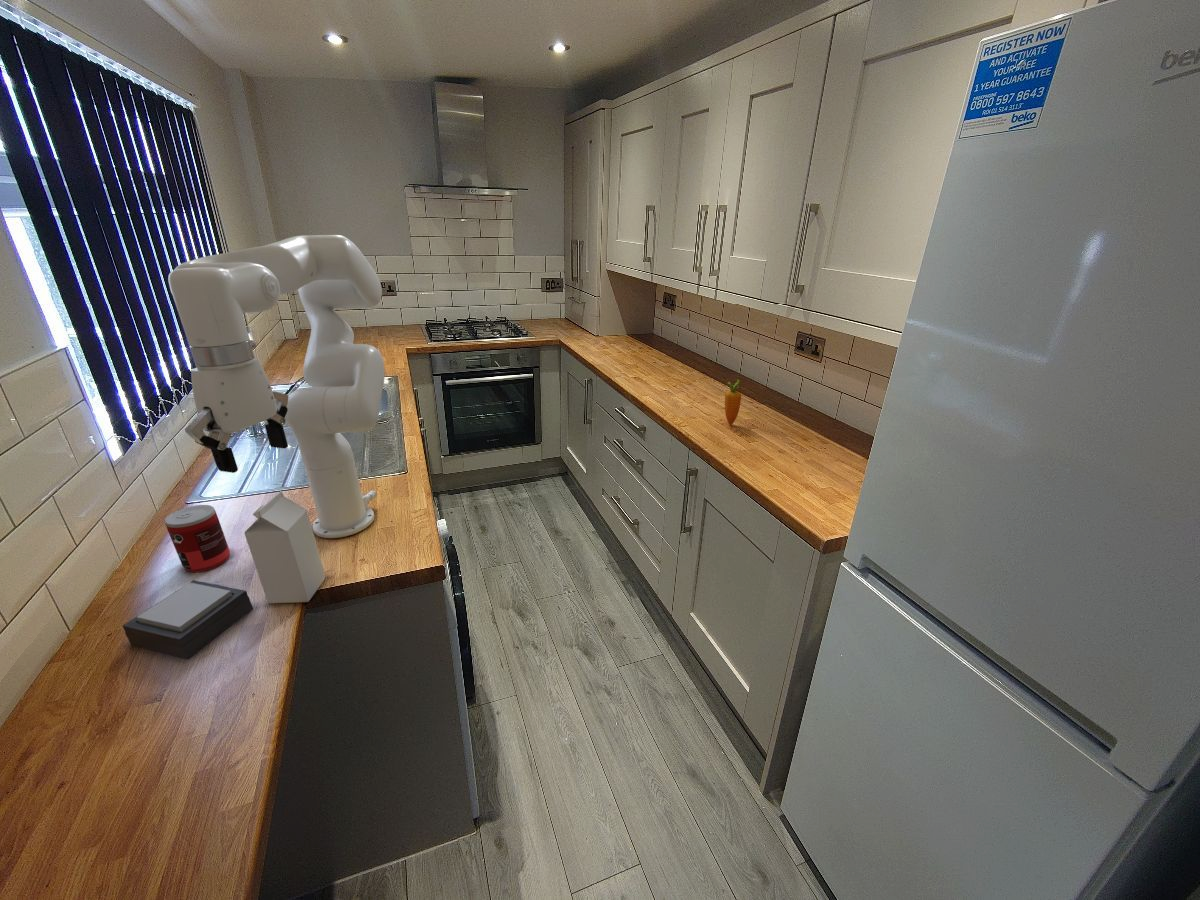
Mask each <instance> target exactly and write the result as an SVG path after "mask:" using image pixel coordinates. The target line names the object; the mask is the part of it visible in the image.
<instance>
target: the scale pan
mask: <svg viewBox="0 0 1200 900" xmlns="http://www.w3.org/2000/svg"><path fill="white" fill-rule="evenodd" d="M188 583H189V584H188ZM188 583H186V584H187V585H186V584H185V585H186V586H185V585H183V586H184V587H183V586H182V587H183V588H182V587H180V588H181V589H180V588H179V589H177V590H178V591H177V590H175V591H174V592H175V593H174V592H172V593H173V594H172V593H171V594H172V595H171V594H169V595H170V596H169V595H168V596H169V597H168V596H166V597H167V598H166V597H165V598H163V599H164V600H163V599H162V600H160V601H161V602H160V601H158V602H159V603H158V602H157V603H158V604H157V603H155V604H156V605H155V604H154V605H155V606H154V605H152V606H153V607H152V606H151V607H149V608H150V609H149V608H147V609H146V610H147V611H146V610H144V611H145V612H144V611H143V612H144V613H143V612H141V613H142V614H141V613H140V614H141V615H140V614H138V615H139V616H138V615H137V616H138V617H137V616H136V617H137V619H138V621H139V623H142V624H146V625H150V626H154V627H159V628H163V629H167V630H171V631H175V632H180V633H181V632H183V631H184V630H185V629H187V628H188V627H190V626H191V625H192V624H194V623H195V622H197V621H198V620H199V619H201V618H202V617H203V616H205V615H206V614H208V613H209V612H210V611H212V610H213V609H215V608H216V607H217V606H219V605H220V604H221V603H223V602H224V601H226V600H227V599H228V598H230V597H231V596H232V593H231V591H229V590H224V589H219V588H214V587H210V586H205V585H200V584H195V583H190V582H188Z"/></svg>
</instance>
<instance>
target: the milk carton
mask: <svg viewBox="0 0 1200 900" xmlns="http://www.w3.org/2000/svg"><path fill="white" fill-rule="evenodd" d="M252 516H254V517H255V518H256V519H255V521H254V522H253V523H252V524H251V525H250V526H249V527H248V528H247V529H246V530H245V532H244V536H245V539H246V542H247V545H248V548H249V552H250V554H251V557H252V560H253V563H254V565H255V569H256V572H257V575H258V577H259V580H260V584H261V586H262V589H263V592H264V595H265V598H266V601H267V604H288V603H289V604H291V603H309V602H310V600H311V599H312V598H313V596H314V595H315V594H316V592H317V591H318V589H319V588H320V587H321V586H322V584H323V582H324V581H325V579H326V574H325V570H324V566H323V563H322V562H323V561H322V558H321V555H320V553H319V552H320V551H319V548H318V545H317V541H316V538H315V533H314V531H313V528H312V523H311V520H310V517H309V512H308V509H307V508H305V507H303V506H301V504H298V503H296V502H295V501H293V500H292V499H289V498H288V497H286V496H284V494H283V490H279V491H278V492H277V493H276V494H275V495H274V496H273V497H272V498H271V499H270V500H268V501H267V502H266V503H265V504H262V505H260V506H259V507H258V508H257V509H256V510H255V511H254V512H253V513H252Z"/></svg>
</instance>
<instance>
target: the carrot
mask: <svg viewBox="0 0 1200 900" xmlns="http://www.w3.org/2000/svg"><path fill="white" fill-rule="evenodd" d="M739 384H740V379H737V380H736V382H735V384H734V385H732V383H731V382H730V381H728V382H727V385H728V388H729V390H728V391H727V392H726V393H725V395H724V413H725V418H726V420H727V423H728V425H729V426H732V425H734V422H735V421H736V419H737V417H738V415H739V413H740V408H741V402H742V393H741V392H739V391H738V390H737V389H738V387H739Z"/></svg>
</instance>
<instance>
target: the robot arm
mask: <svg viewBox="0 0 1200 900" xmlns="http://www.w3.org/2000/svg"><path fill="white" fill-rule="evenodd" d="M167 282H168V285H169V289H170V293H171V294H172V297H173V301H174V303H175V307H176V310H177V313H178V316H179V319H180V323H181V324H182V328H183V331H184V334H185V338H186V340H187V343H188V346H189V349H190V350H189V351H190V352H191V355H192V359H193V362H194V365H195V367H194V368H191V369H190V373H191V374H190V376H191V377H190V379H191V380H190V381H191V388H192V389H191V390H192V394H193V399H194V403H195V409H196V412H197V416H196V417H194V419H192V421H191V422H190V423H189V424H188V425H187V426H186V427H185V428H184V433H186V434H187V435H188V436H189V437H190V438H192V440H194V442H195V444H198V445H199V446H202V447H205V448H206V449H208V450H210V451H211V454H212V456H213V460H214V462H215V465H216V467H217V469H218V470H219V472H223V473H224V472H225V473H232V474H234V473H236V472H238V470H239V467H238V464H237V462H236V458H235V455H234V452H233V449H232V448H231V447H227V446H228V444H229V441H230V438H231V436H232V434H234V433H237V432H240V431H243V430H245V429H248V428H251V427H253V426H255V425H258V424H261V423H263V422H266V424H264V426H265V427H264V428H265V432H266V436H267V440H268V443H269V446H270V447H271V448H277V449H287V448H289V444H288V440H287V437H286V433H285V429H284V426H283V425H285V424H286V423H287V424H288V427H289V429H290V431H291V433H292V435H293V437H294V439H295V441H296V444H297V446H298V449H299V453H300V456H301V460H302V463H303V467H304V470H305V474H306V478H307V482H308V486H309V490H310V492H311V497H312V501H313V504H314V507H315V511H316V514H317V518H315V520H314V521H313V523H312V525H311V527H312V530H313V534H314V535H315V536H317V537H320V538H324V539H339V538H344V537H348V536H352V535H355V534H357V533H360V532H362V531H363V530H365V529H367V528H368V527H369V526H371V524H373V522H374V520H375V513H374V510H373V509H372V508H371V507H369V505H370V502H371V501H372V500H374V499H375V498H377V496H378V494H377V492H376V490H374V489H371V490H370V491H368V492H367V493H365V494H364V493H363V492H362V489H361V484H360V481H359V476H358V470H357V467H356V463H355V458H354V454H353V449H352V446H351V444H350V443H349V441H348V440H347V439H346V437H345V436H344V435H343V434H348V433H349V434H350V433H352V434H353V433H364V432H369V431H372V429H374V428H375V427H376V425H377V423H378V420H379V418H380V417H379V416H380V411H381V404H382V397H383V390H384V386H385V385H384V384H385V374H386V371H385V370H386V369H385V362H384V358H383V355H382V353H381V351H380V350H379V349H378V348H376V347H375V346H373V345H372V344H367V343H354V340H355V332H354V331H353V328H352V327H351V326H350V325H349V323H348V322H347V321H346V320H345V319H344V317H342V316H341V315H340V314H338V313H337V311H336V310H335V309H362V308H365V309H367V308H372V307H375V306H377V305H378V304H379V303H380V302H381V299H382V296H383V288H382V284H381V280H380V278H379V276H378V274H377V272H376V271H375V269H374V267H373V266H372V265H371V264H370V262H369V261H368V259H367V258H366V256H365V255H364V254H363V252H362V251H361V250H360V248H359V247H358V246H357V245H356V243H354V242H353V241H352V240H351V239H349V238H348V237H346V236H344V235H340V234H319V235H318V234H317V235H314V234H313V235H312V234H311V235H309V234H308V235H306V234H305V235H294V236H290V237H287V238H284V239H281V240H278V241H275V242H272V243H268V244H265V245H261V246H254V247H249V248H243V249H240V250H234V251H229V252H224V253H217V254H211V255H206V256H202V257H197V258H195V259H191V260H188V261H185V262H182V263H180V264H178V265H177V266H176V267H175V268H174V269H173V270H172V271H171V272H170V273H169V274H168V281H167ZM296 291H297V292H298V293H297V294H298V296H299V299H300V301H301V304H302V306H303V309H304V311H305V314H306V316H307V319H308V321H309V325H310V328H311V329H310V335H309V340H308V344H307V349H306V351H305V356H304V361H303V366H302V375H303V379H304V381H305V383H306V384H307V385H308V386H309V387H302V388H298V389H296V390H293V391H292V392H290V393H288V394H287V393H283V392H278V391H275V390H273V389H272V386H271V383H270V381H269V378H268V376H267V373H266V370H264V367H263V365H262V362H260V360H259V358H257V357H256V356H255V352H254V349H256V347H257V344H256V342H255V341H254V340H252V339H250V335H249V332H248V328H247V325H246V321H245V318H244V314H247V313H248V314H249V313H253V314H254V313H263V312H266V311H269V310H271V309H273V308H274V307H275V306H276V305H277V303H278V302H279V300H280V296H281V295H282V296H283V295H286V294H290V293H294V292H296ZM206 432H208V435H207V434H206Z"/></svg>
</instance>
